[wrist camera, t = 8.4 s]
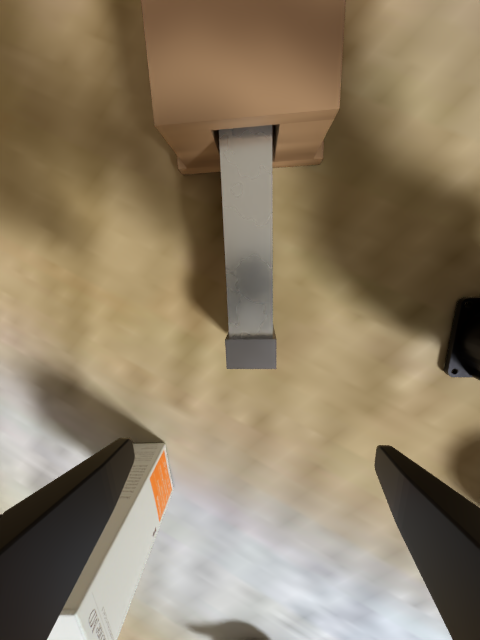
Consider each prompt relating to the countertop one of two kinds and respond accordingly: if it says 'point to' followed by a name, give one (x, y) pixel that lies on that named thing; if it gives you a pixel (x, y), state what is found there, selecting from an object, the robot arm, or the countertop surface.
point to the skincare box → (119, 552)
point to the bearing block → (244, 74)
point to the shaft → (248, 245)
